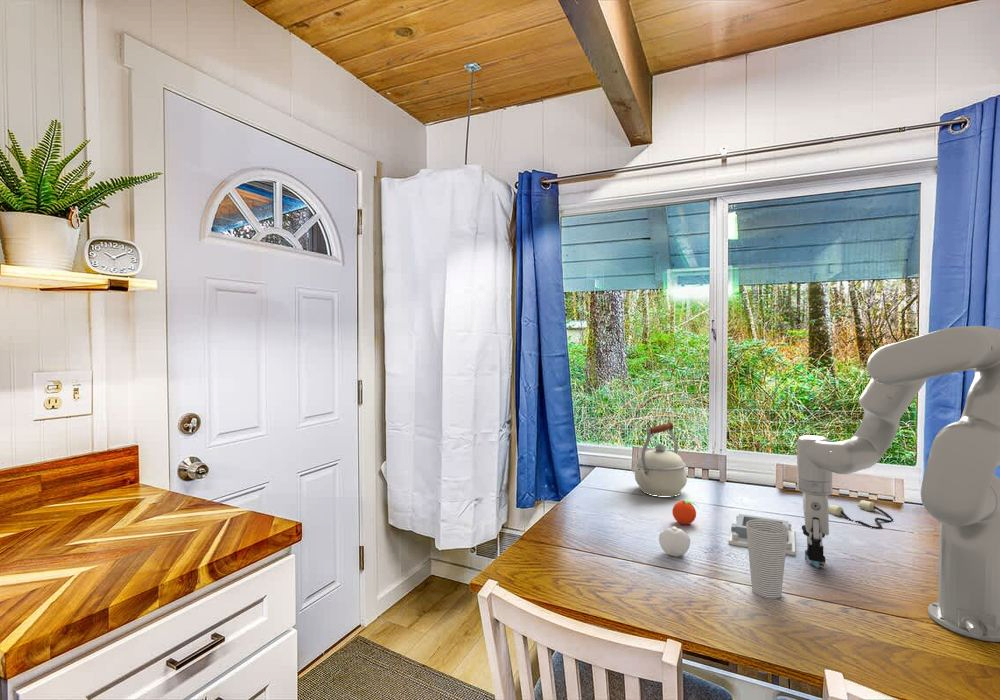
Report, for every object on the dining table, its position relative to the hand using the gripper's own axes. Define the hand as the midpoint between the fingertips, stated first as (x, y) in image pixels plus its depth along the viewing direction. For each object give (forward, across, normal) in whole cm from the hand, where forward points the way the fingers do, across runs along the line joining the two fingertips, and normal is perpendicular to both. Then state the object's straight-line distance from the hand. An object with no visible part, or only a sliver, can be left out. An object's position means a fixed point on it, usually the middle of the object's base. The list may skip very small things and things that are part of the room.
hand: (815, 555), depth 128 cm
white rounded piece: (+2, -11, +32) cm, 34 cm away
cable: (+3, +44, -16) cm, 47 cm away
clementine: (+2, +13, +33) cm, 36 cm away
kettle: (+2, +39, +47) cm, 62 cm away
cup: (+3, -21, +10) cm, 23 cm away
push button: (+2, -1, 0) cm, 2 cm away
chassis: (+2, +12, +12) cm, 18 cm away
